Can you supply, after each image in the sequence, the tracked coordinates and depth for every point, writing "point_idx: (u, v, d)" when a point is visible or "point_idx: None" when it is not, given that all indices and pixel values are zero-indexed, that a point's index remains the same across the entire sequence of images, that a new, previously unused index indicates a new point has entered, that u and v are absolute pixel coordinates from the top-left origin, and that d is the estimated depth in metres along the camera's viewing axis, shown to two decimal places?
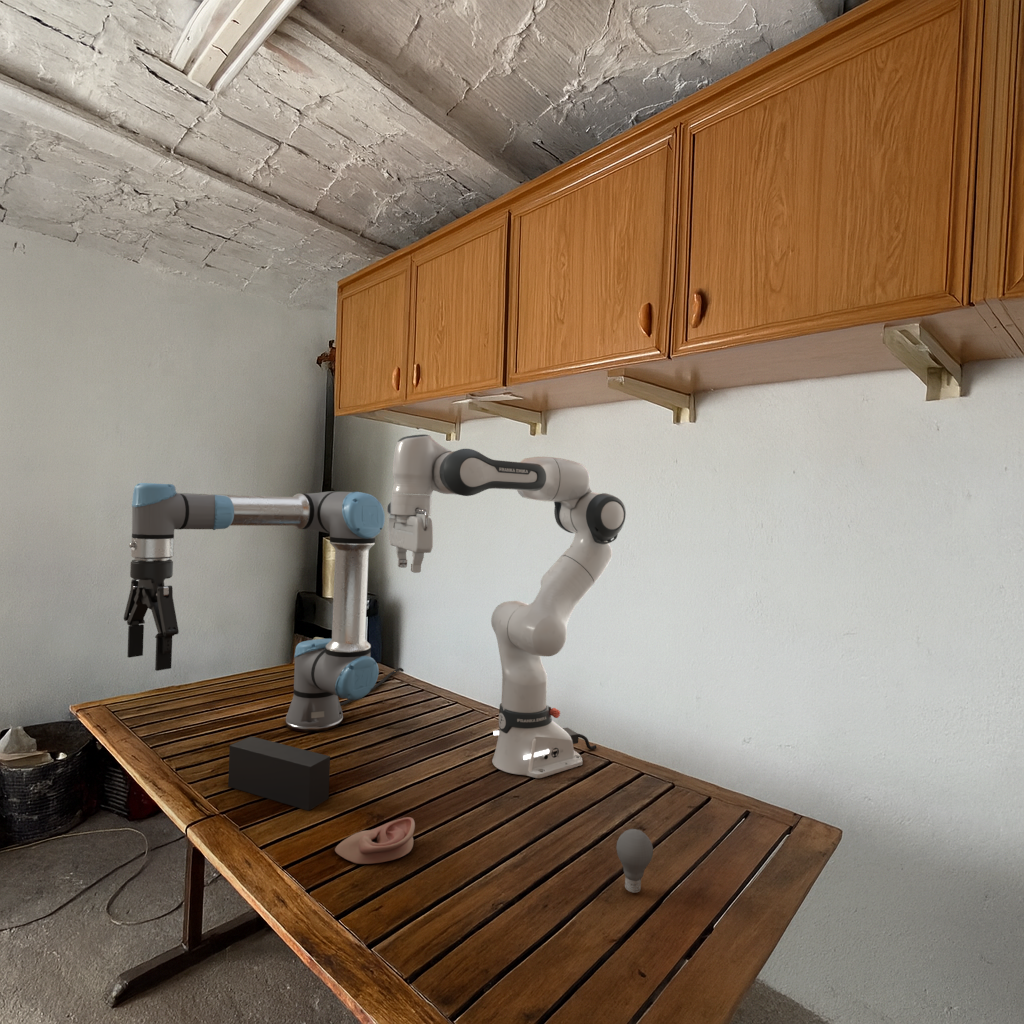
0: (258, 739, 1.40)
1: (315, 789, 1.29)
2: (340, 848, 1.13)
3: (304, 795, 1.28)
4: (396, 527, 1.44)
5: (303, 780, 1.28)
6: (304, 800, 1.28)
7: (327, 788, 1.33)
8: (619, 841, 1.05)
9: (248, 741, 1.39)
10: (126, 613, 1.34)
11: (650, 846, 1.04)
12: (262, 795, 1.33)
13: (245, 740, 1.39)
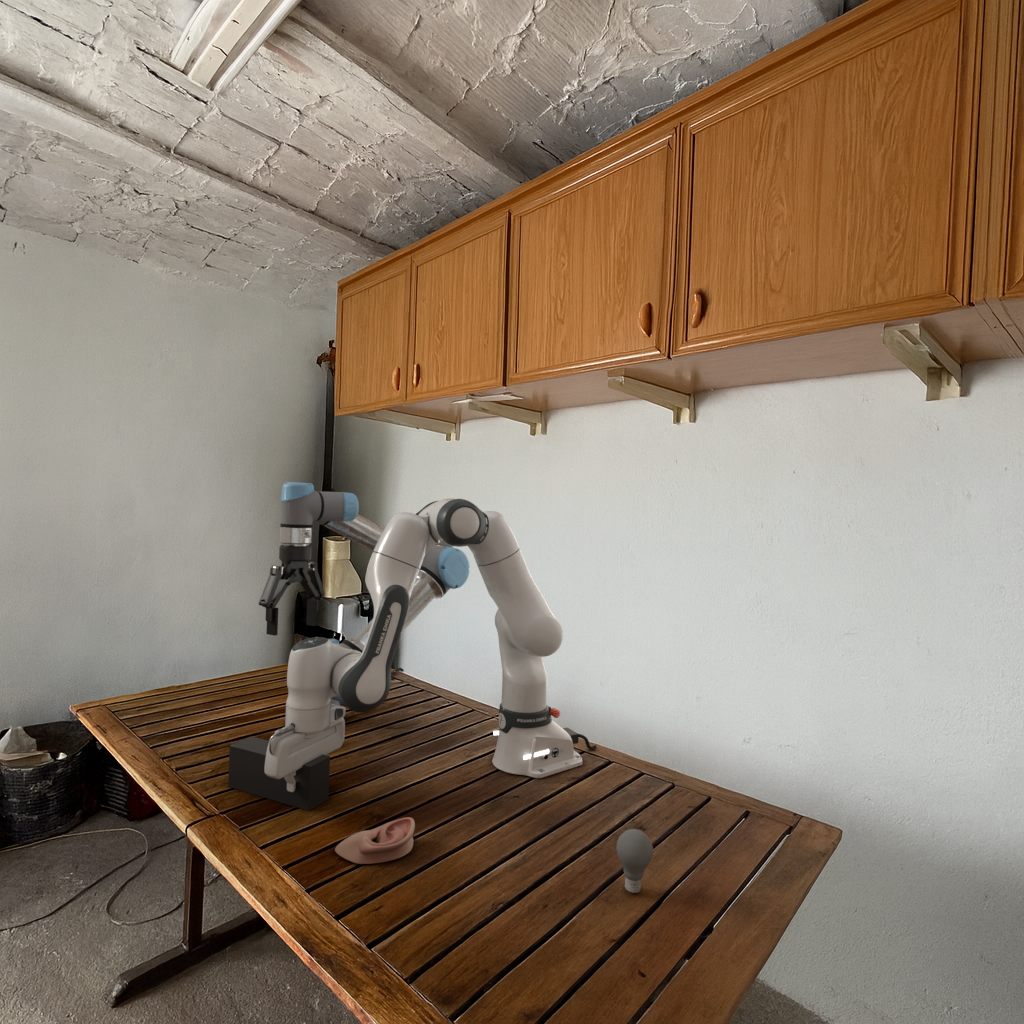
0: (258, 739, 1.40)
1: (315, 789, 1.29)
2: (340, 848, 1.13)
3: (304, 795, 1.28)
4: None
5: (303, 780, 1.28)
6: (304, 800, 1.28)
7: (327, 788, 1.33)
8: (619, 841, 1.05)
9: (248, 741, 1.39)
10: (270, 599, 1.49)
11: (650, 846, 1.04)
12: (262, 795, 1.33)
13: (245, 740, 1.39)
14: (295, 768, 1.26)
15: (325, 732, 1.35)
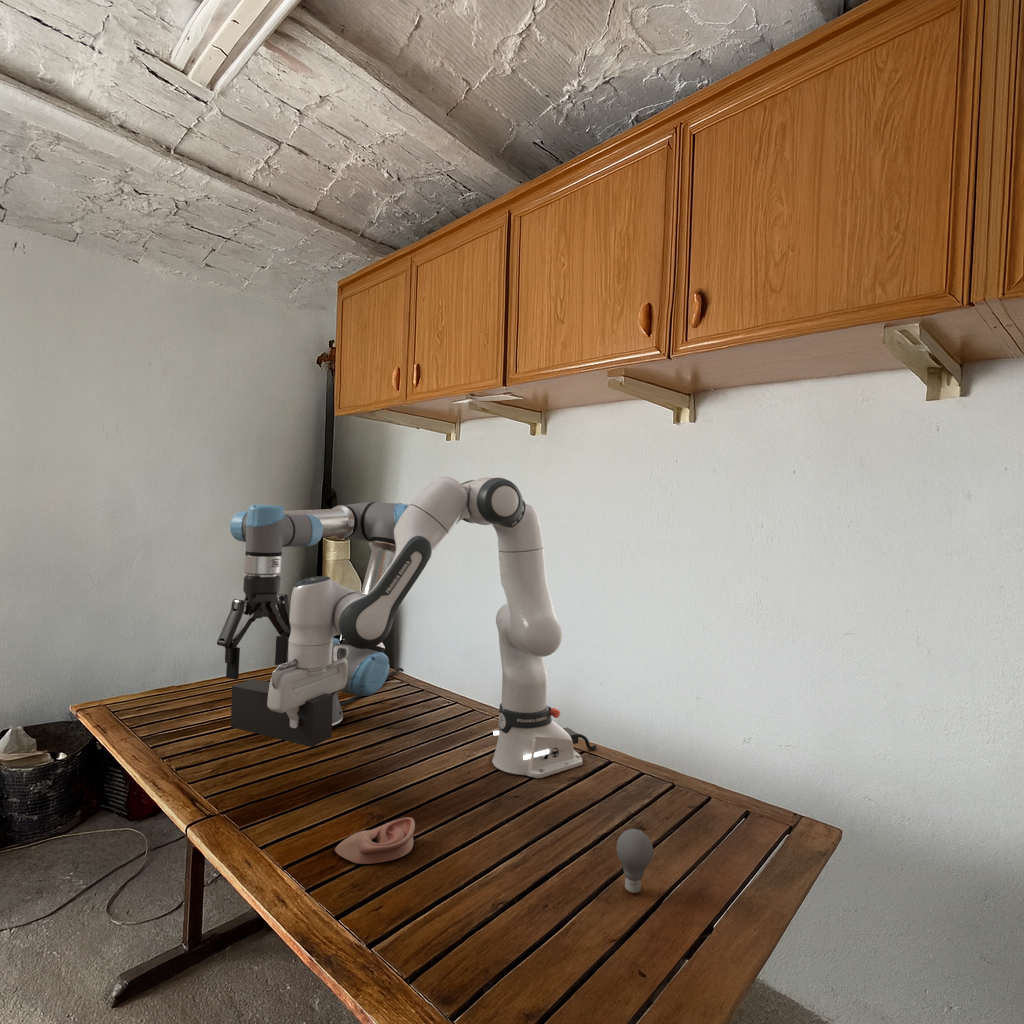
0: (260, 681, 1.40)
1: (318, 726, 1.29)
2: (340, 848, 1.13)
3: (306, 732, 1.28)
4: None
5: (306, 717, 1.28)
6: (307, 736, 1.28)
7: (329, 727, 1.32)
8: (619, 841, 1.05)
9: (251, 682, 1.39)
10: (230, 638, 1.30)
11: (650, 846, 1.04)
12: (265, 734, 1.32)
13: (248, 682, 1.39)
14: (298, 704, 1.26)
15: (328, 671, 1.34)
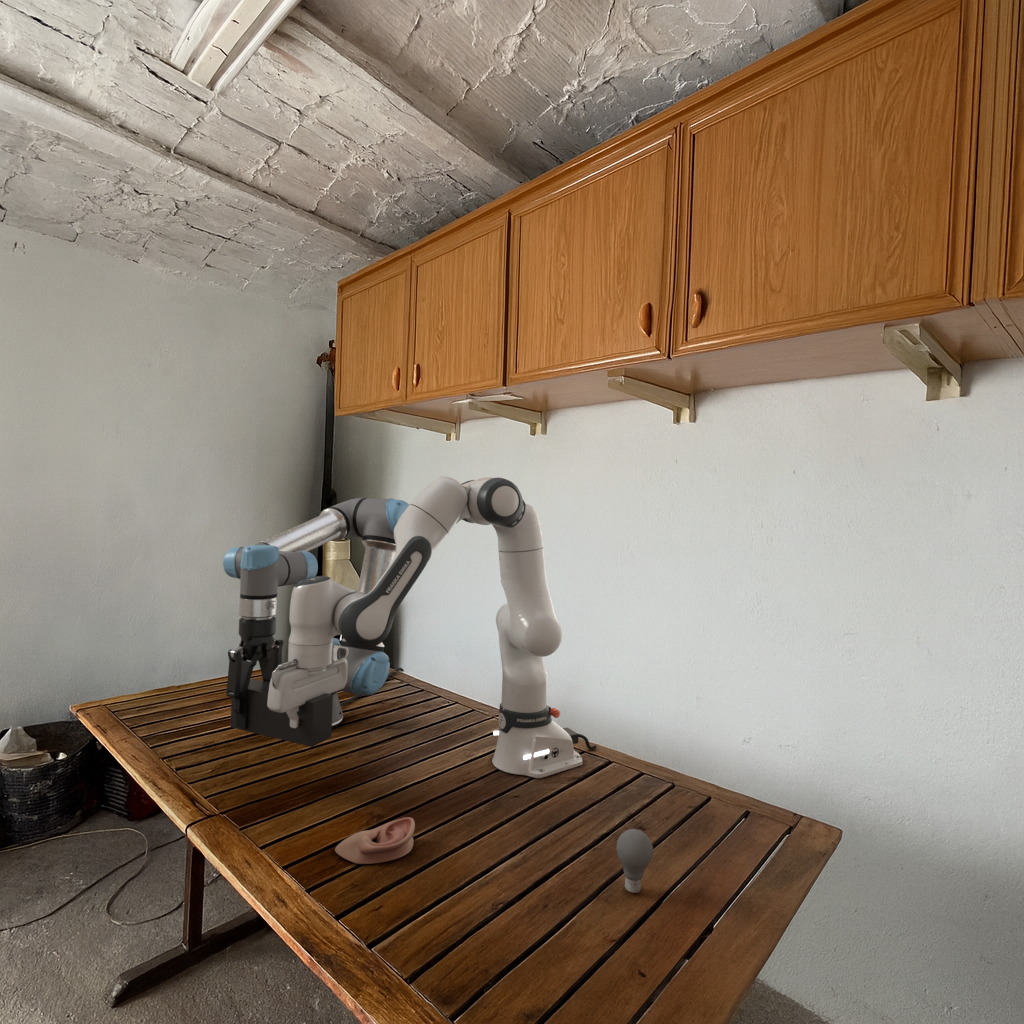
0: (260, 681, 1.40)
1: (318, 726, 1.29)
2: (340, 848, 1.13)
3: (306, 732, 1.28)
4: None
5: (306, 717, 1.28)
6: (307, 736, 1.28)
7: (329, 727, 1.32)
8: (619, 841, 1.05)
9: (251, 683, 1.39)
10: (238, 688, 1.32)
11: (650, 846, 1.04)
12: (265, 734, 1.32)
13: None
14: (298, 703, 1.26)
15: (328, 671, 1.34)
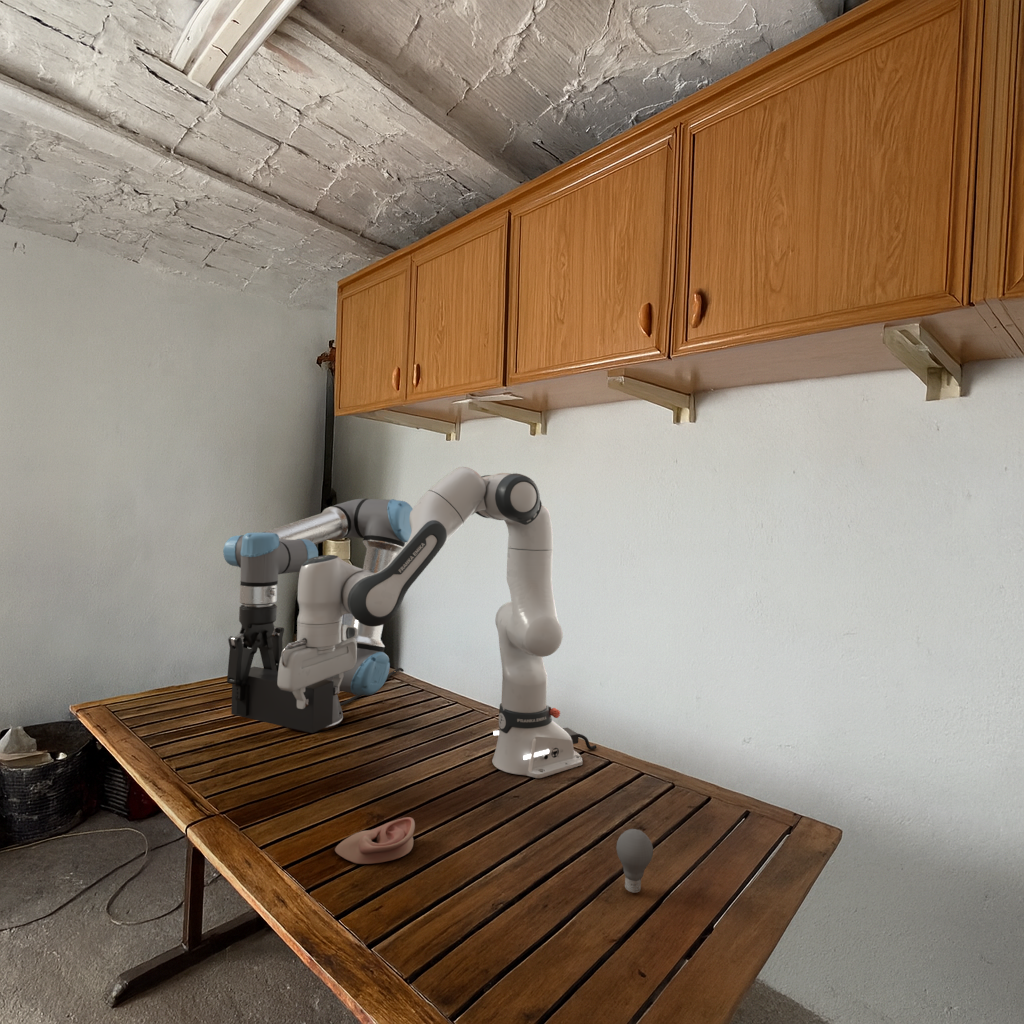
0: (261, 668, 1.40)
1: (318, 712, 1.29)
2: (340, 848, 1.13)
3: (307, 718, 1.28)
4: None
5: None
6: (308, 723, 1.28)
7: (330, 713, 1.32)
8: (619, 841, 1.05)
9: (251, 670, 1.39)
10: (239, 675, 1.32)
11: (650, 846, 1.04)
12: (266, 720, 1.32)
13: None
14: (308, 682, 1.25)
15: (337, 651, 1.34)
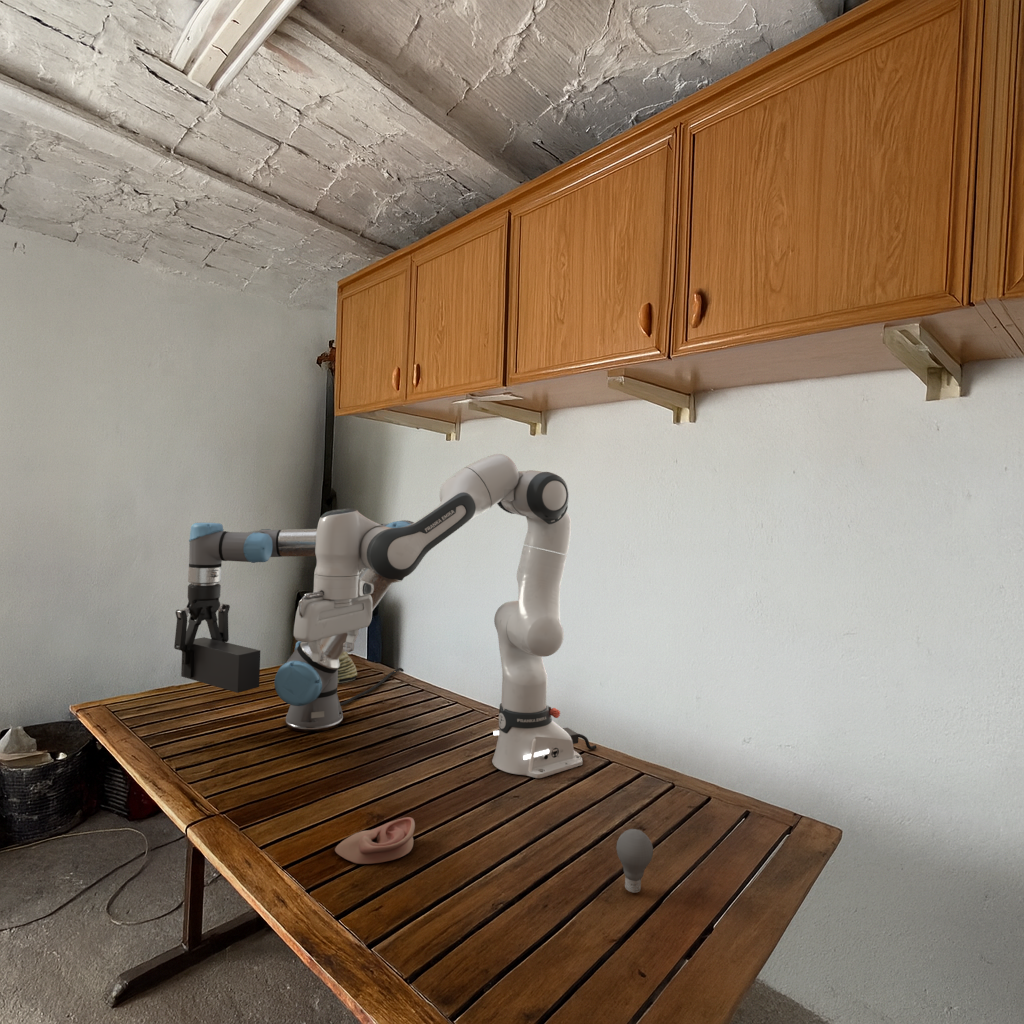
0: (208, 639, 1.64)
1: (244, 675, 1.51)
2: (340, 848, 1.13)
3: (234, 680, 1.50)
4: None
5: (234, 667, 1.50)
6: (234, 684, 1.50)
7: (257, 678, 1.54)
8: (619, 841, 1.05)
9: (199, 639, 1.63)
10: (183, 642, 1.56)
11: (650, 846, 1.04)
12: (205, 682, 1.56)
13: (197, 639, 1.63)
14: (324, 635, 1.23)
15: (353, 607, 1.32)
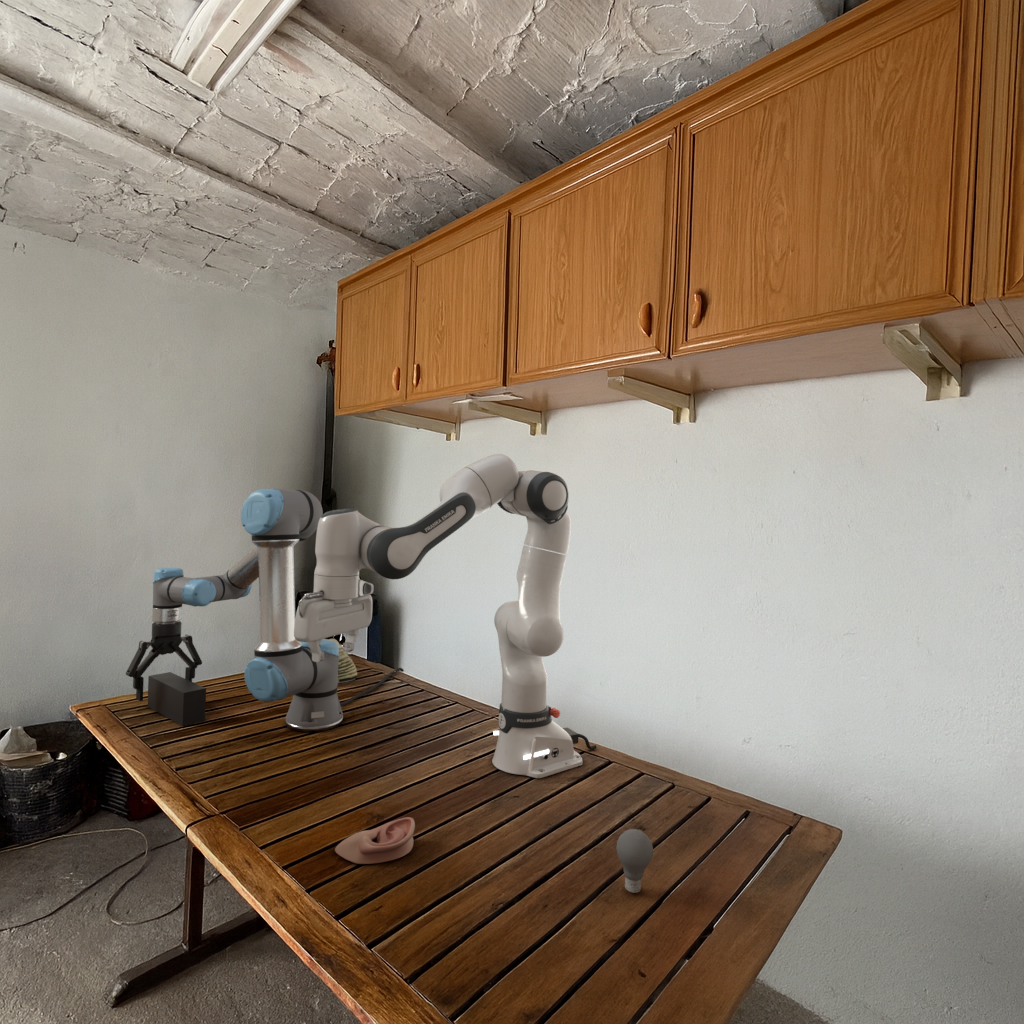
0: (172, 674, 1.86)
1: (189, 711, 1.71)
2: (340, 848, 1.13)
3: (180, 714, 1.70)
4: None
5: (180, 703, 1.71)
6: (180, 718, 1.70)
7: (203, 712, 1.74)
8: (619, 841, 1.05)
9: (164, 674, 1.85)
10: (134, 670, 1.76)
11: (650, 846, 1.04)
12: (162, 713, 1.77)
13: (162, 674, 1.85)
14: (324, 635, 1.23)
15: (353, 607, 1.32)
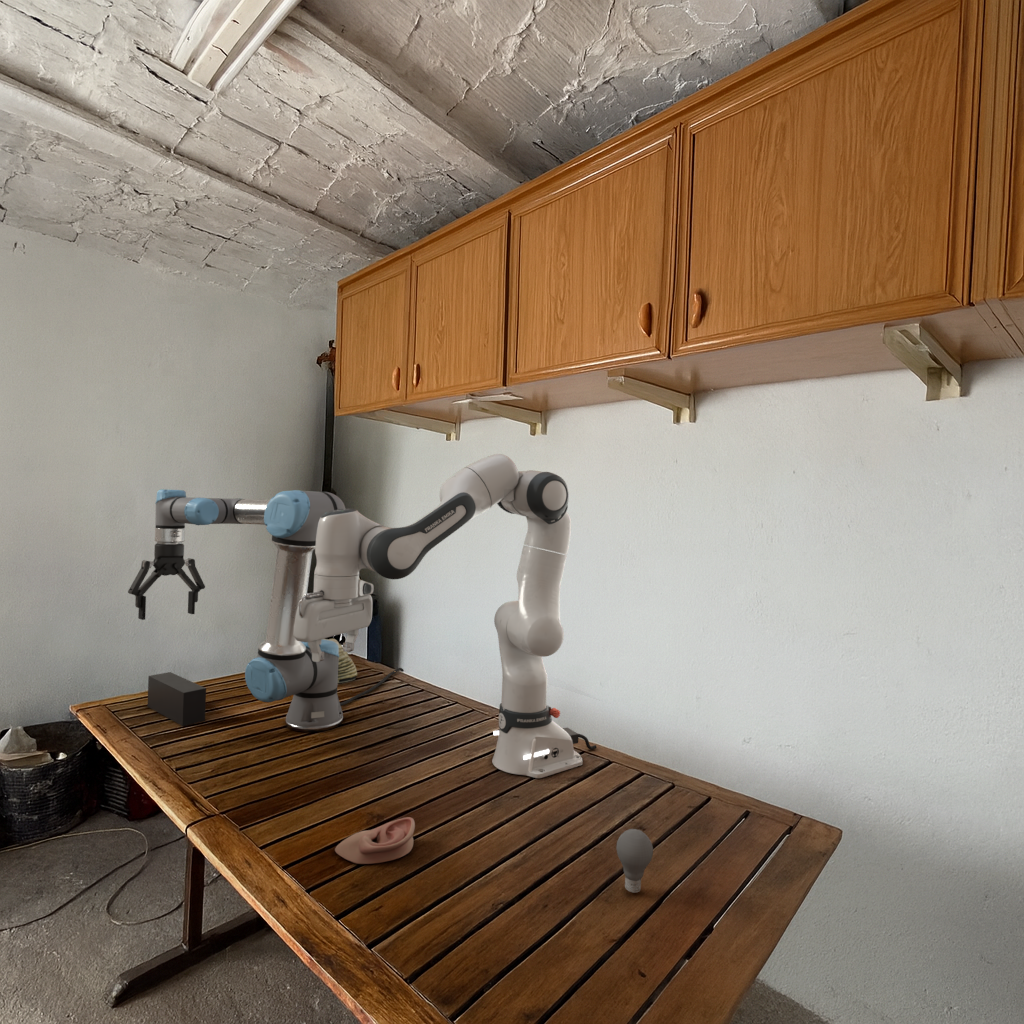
0: (172, 674, 1.86)
1: (189, 711, 1.71)
2: (340, 848, 1.13)
3: (180, 714, 1.70)
4: None
5: (180, 703, 1.71)
6: (180, 718, 1.70)
7: (203, 712, 1.74)
8: (619, 841, 1.05)
9: (164, 674, 1.85)
10: (136, 588, 1.75)
11: (650, 846, 1.04)
12: (162, 713, 1.77)
13: (162, 674, 1.85)
14: (324, 635, 1.23)
15: (353, 607, 1.32)
